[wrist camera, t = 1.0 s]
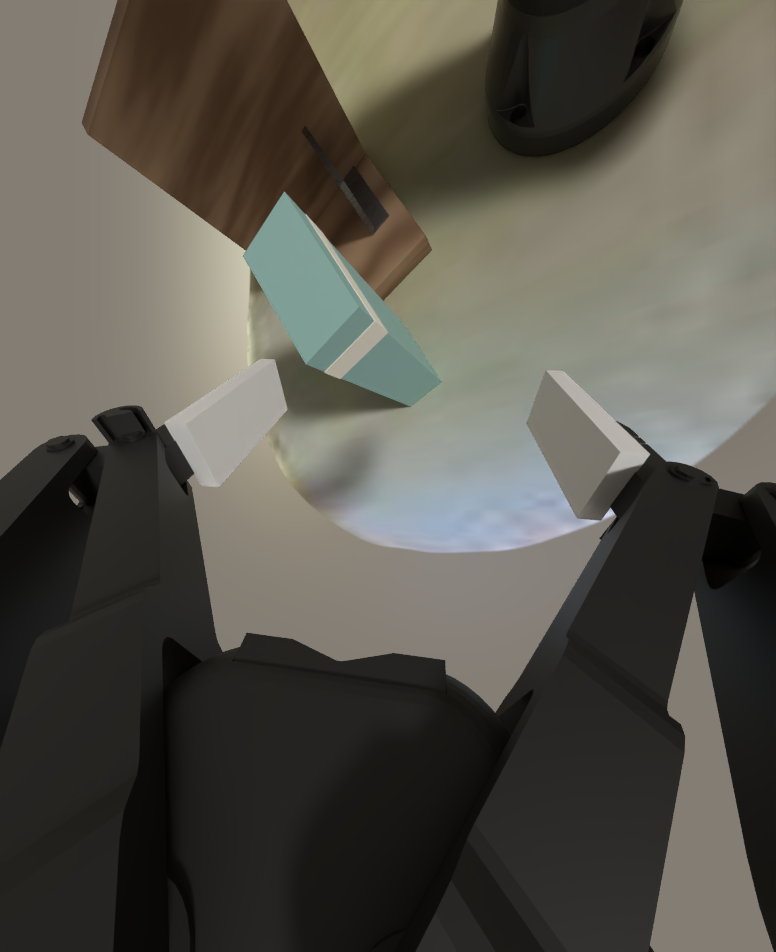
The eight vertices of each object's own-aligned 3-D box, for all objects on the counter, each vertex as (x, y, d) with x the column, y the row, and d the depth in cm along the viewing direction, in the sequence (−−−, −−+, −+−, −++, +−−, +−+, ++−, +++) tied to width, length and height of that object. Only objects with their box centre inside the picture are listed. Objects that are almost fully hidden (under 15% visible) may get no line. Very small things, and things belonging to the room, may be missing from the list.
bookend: (389, 215, 33) (358, 160, 27) (372, 235, 34) (339, 186, 28) (353, 164, 34) (316, 100, 28) (338, 185, 35) (299, 128, 29)
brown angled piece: (431, 249, 34) (300, -56, 13) (332, 353, 41) (150, 257, 21) (360, 151, 36) (161, -225, 16) (279, 264, 44) (72, 103, 23)
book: (401, 320, 36) (284, 190, 18) (442, 381, 34) (359, 306, 16) (372, 347, 38) (242, 255, 20) (410, 407, 36) (305, 365, 18)
